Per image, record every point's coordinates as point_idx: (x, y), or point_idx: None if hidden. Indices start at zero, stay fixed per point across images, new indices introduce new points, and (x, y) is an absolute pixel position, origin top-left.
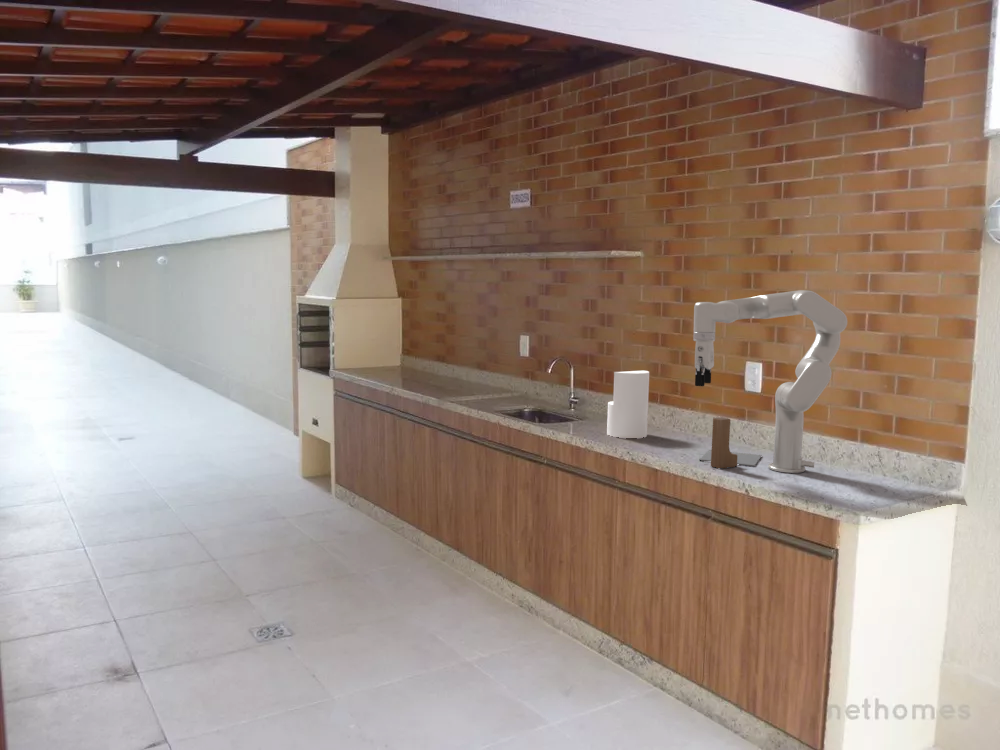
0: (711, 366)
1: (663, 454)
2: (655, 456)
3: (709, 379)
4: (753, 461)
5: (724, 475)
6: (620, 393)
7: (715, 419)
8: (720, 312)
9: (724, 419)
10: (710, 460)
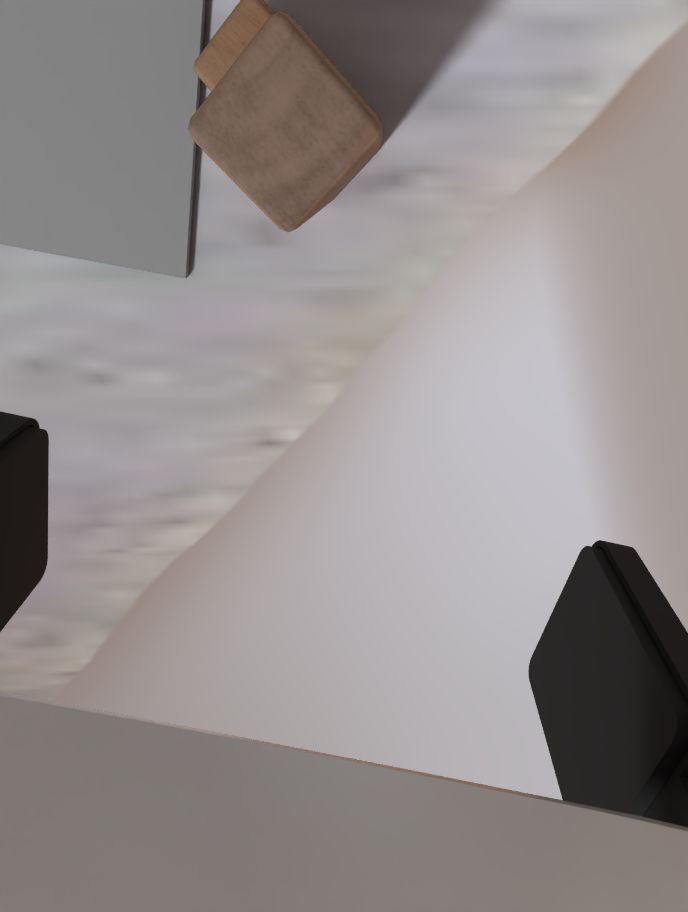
0: (276, 804)
1: (101, 473)
2: (173, 507)
3: (5, 476)
4: None
5: (560, 105)
6: None
7: (317, 204)
8: None
9: (345, 91)
10: (186, 205)
